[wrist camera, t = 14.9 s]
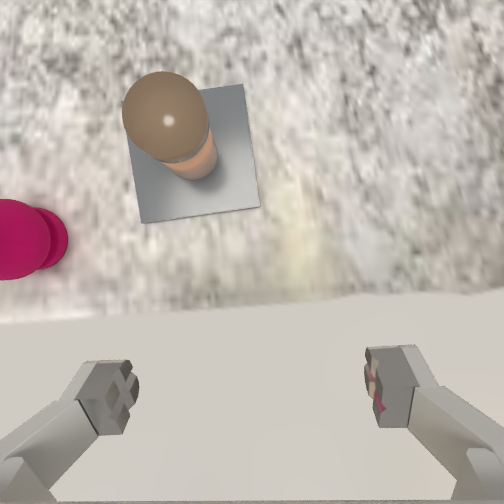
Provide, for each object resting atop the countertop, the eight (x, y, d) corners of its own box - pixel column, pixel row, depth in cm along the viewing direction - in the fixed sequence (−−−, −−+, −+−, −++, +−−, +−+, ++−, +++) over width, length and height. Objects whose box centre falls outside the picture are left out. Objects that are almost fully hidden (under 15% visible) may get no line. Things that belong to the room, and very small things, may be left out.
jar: (214, 122, 32) (197, 64, 21) (224, 176, 32) (213, 149, 21) (160, 131, 32) (114, 79, 21) (170, 186, 32) (131, 163, 21)
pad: (243, 87, 32) (242, 83, 31) (259, 206, 33) (260, 206, 32) (124, 104, 32) (121, 101, 31) (144, 223, 33) (141, 223, 32)
